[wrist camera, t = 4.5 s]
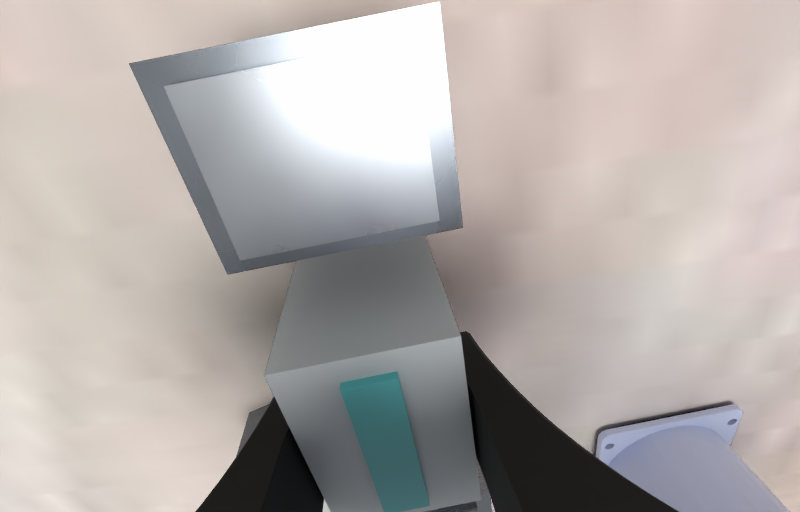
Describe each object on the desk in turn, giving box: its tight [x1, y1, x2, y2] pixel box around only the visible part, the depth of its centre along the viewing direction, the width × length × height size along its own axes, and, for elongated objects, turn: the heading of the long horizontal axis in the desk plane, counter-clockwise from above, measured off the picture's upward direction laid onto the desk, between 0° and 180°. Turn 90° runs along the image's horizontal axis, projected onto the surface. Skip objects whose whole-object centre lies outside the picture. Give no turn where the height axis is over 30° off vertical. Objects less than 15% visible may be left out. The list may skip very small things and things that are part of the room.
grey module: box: [264, 235, 481, 512], centre depth 11 cm, size 6×4×6 cm, turn 10°
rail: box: [129, 2, 492, 512], centre depth 13 cm, size 18×5×6 cm, turn 10°
